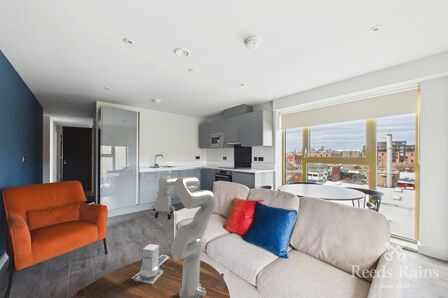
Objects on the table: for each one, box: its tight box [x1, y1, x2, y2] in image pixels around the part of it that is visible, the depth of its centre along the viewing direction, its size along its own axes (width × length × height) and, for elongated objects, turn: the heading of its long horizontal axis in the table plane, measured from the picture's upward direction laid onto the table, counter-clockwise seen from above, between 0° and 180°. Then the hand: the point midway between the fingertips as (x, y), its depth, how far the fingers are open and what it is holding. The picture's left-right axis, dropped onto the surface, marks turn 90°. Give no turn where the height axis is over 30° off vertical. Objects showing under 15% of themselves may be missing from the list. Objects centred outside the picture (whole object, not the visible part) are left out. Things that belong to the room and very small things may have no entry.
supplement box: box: [141, 243, 160, 271], centre depth 119 cm, size 7×7×13 cm
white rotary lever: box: [135, 262, 164, 285], centre depth 119 cm, size 12×12×6 cm
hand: (162, 218), depth 132 cm, fingers open, 9 cm apart
